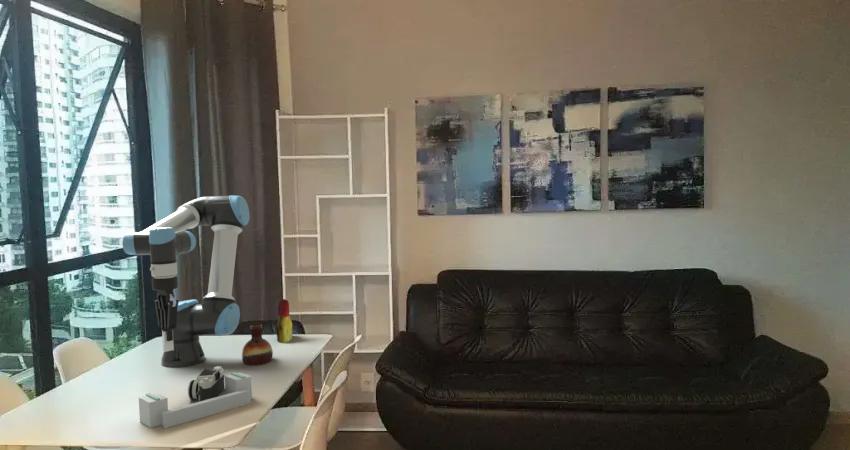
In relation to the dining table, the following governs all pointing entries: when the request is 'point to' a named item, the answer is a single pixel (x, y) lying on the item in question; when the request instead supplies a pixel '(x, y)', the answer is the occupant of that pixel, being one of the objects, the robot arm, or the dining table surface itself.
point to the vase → (257, 348)
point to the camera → (207, 384)
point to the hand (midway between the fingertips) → (168, 350)
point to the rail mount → (195, 404)
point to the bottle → (284, 322)
